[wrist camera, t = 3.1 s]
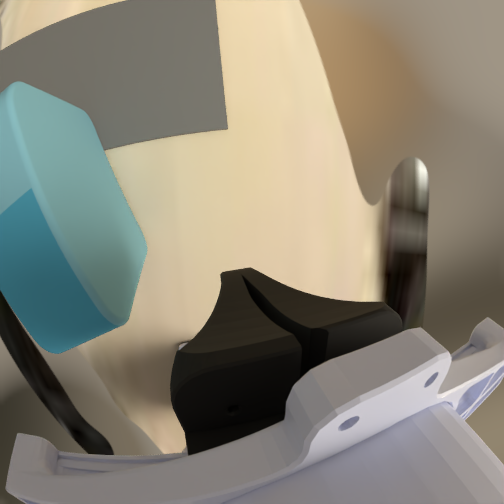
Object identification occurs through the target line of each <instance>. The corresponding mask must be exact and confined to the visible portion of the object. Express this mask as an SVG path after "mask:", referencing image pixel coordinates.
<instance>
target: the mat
mask: <svg viewBox="0 0 504 504" xmlns="http://www.w3.org/2000/svg"><path fill="white" fill-rule="evenodd" d="M17 81H20V82H24V83H26V84H28V85H31V86H33V87H35V88H37V89H40V90H42V91H44V92H46V93H48V94H51V95H53V96H55V97H57V98H59V99H61V100H63V101H66V102H68V103H70V104H72V105H74V106H76V107H78V108H80V109H82V110H84V111H85V112H86V113H87V115H88V116H89V118H90V119H91V121H92V123H93V125H94V127H95V130H96V132H97V135H98V137H99V140H100V142H101V145H102V147H103V150H108V149H112V148H116V147H120V146H125V145H129V144H134V143H138V142H143V141H149V140H154V139H159V138H165V137H171V136H177V135H184V134H191V133H198V132H206V131H215V130H225V129H228V125H227V115H226V106H225V96H224V86H223V77H222V67H221V56H220V46H219V36H218V25H217V14H216V3H215V0H126V1H122V2H118V3H114V4H110V5H106V6H103V7H99V8H96V9H92V10H89V11H86V12H83V13H80V14H77V15H75V16H72V17H69V18H67V19H64V20H61V21H59V22H57V23H54V24H52V25H49V26H47V27H45V28H43V29H41V30H38V31H36V32H34V33H32V34H30V35H28V36H26V37H24V38H22V39H21V40H19V41H17V42H15V43H13V44H11V45H10V46H8V47H6V48H5V49H3V50H1V51H0V93H1V92H2V91H3V90H5V89H6V88H7V87H8V86H9V85H10V84H12V83H14V82H17Z"/></svg>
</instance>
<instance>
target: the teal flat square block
mask: <svg viewBox="0 0 504 504" xmlns="http://www.w3.org/2000/svg"><path fill="white" fill-rule="evenodd" d="M146 254H147V245H146V241H145V238H144V236H143V233H142V231H141V229H140V227H139V225H138V223H137V221H136V219H135V217H134V215H133V213H132V211H131V209H130V207H129V205H128V203H127V201H126V199H125V197H124V195H123V192H122V190H121V188H120V186H119V184H118V182H117V179H116V177H115V175H114V173H113V171H112V168H111V166H110V164H109V161H108V159H107V157H106V154H105V152H104V150H103V147H102V145H101V142H100V140H99V137H98V135H97V132H96V130H95V127H94V125H93V123H92V121H91V119H90V118H89V116H88V115H87V113H86V112H85V111H84V110H82V109H80V108H78V107H76V106H74V105H72V104H70V103H68V102H66V101H63V100H61V99H59V98H57V97H55V96H53V95H51V94H48V93H46V92H44V91H42V90H40V89H37V88H35V87H33V86H31V85H28V84H26V83H24V82H20V81H17V82H14V83H12V84H10V85H9V86H8V87H7V88H6V89H5V90H3V91H2V92H1V93H0V290H1V292H2V293H3V295H4V297H5V298H6V300H7V301H8V303H9V304H10V306H11V308H12V309H13V311H14V312H15V314H16V315H17V317H18V318H19V319H20V321H21V322H22V324H23V325H24V326H25V328H26V329H27V331H28V332H29V333H30V335H31V336H32V337H33V339H34V340H35V341H36V342H37V343H38V344H39V345H40V346H41V347H42V348H43V349H45V350H46V351H48V352H51V353H55V354H59V353H62V352H65V351H67V350H69V349H71V348H73V347H76V346H78V345H80V344H82V343H85V342H87V341H89V340H91V339H93V338H96V337H98V336H100V335H102V334H104V333H107V332H109V331H111V330H113V329H115V328H118V327H120V326H122V325H124V324H125V323H126V322H127V321H128V319H129V316H130V312H131V308H132V304H133V300H134V296H135V293H136V289H137V285H138V282H139V278H140V274H141V271H142V267H143V264H144V261H145V257H146Z"/></svg>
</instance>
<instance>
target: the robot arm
mask: <svg viewBox="0 0 504 504" xmlns="http://www.w3.org/2000/svg"><path fill="white" fill-rule="evenodd" d="M220 276H221V289H220V294H219V297H218V300H217V303H216V305H215V308H214V310H213V312H212V314H211V316H210V317H209V319H208V321H207V322H206V324H205V325H204V327H203V328H202V329H201V330H200V332H199V333H198V334H197V335H196V336H195V337H194V338H193V339H192V340H191V341H190V342H188V343H183V344H180V345H179V350H178V351H177V353H176V356H175V360H174V364H173V368H172V374H171V383H170V391H171V402H172V406H173V409H174V412H175V414H176V416H177V418H178V420H179V422H180V424H181V426H182V428H183V430H184V432H185V438H186V447H185V448H184V450H183V451H182V453H173V454H160V455H139V456H137V455H136V456H116V455H93V454H80V453H69V452H62V451H58V450H57V449H56V448H55V446H54V445H53V444H51V443H50V442H49V441H48V440H46V439H44V438H42V437H38V436H32V435H27V434H22V433H18V434H17V437H16V441H15V445H14V449H13V453H12V457H11V462H10V467H9V472H8V477H7V483H6V490H7V492H9V493H10V494H12V495H13V496H15V497H16V498H18V499H19V500H21V501H23V502H24V503H26V504H504V465H503V464H502V462H501V461H500V460H499V459H498V458H497V457H496V456H495V454H494V453H493V452H492V451H491V450H490V449H489V447H488V446H487V445H486V444H485V443H484V442H483V441H482V440H481V438H480V437H479V436H478V435H477V434H476V433H475V432H474V431H473V430H472V428H471V427H470V426H469V425H468V424H467V423H466V422H465V419H467V417H469V416H470V414H472V413H473V411H475V410H476V409H477V407H478V406H479V405H480V404H481V403H482V402H483V401H484V400H485V399H486V398H487V397H488V396H489V395H490V394H491V392H492V391H493V390H494V389H495V388H496V387H497V386H498V385H499V383H500V382H501V380H502V379H503V377H504V329H503V328H502V327H501V326H499V325H497V324H496V323H495V322H494V321H493V320H491V319H490V318H486V319H485V320H483V321H482V322H481V323H479V324H478V325H477V326H476V327H475V328H474V330H473V332H472V334H471V337H470V339H469V342H468V343H466V344H465V345H464V346H462V347H461V348H460V349H458V350H457V351H455V352H454V353H452V354H451V355H450V353H449V352H448V351H447V350H446V349H445V348H444V347H443V346H442V345H440V344H439V343H438V342H437V341H436V340H435V339H433V338H432V337H431V336H430V335H429V334H428V333H426V332H425V331H424V330H423V329H422V328H415V329H409V330H405V331H403V332H402V320H401V318H400V316H399V315H398V314H397V313H396V312H395V311H394V310H392V309H391V308H390V307H389V306H388V305H386V304H385V303H384V302H354V301H343V300H335V299H330V298H325V297H320V296H316V295H312V294H308V293H305V292H302V291H299V290H296V289H294V288H291V287H289V286H286V285H284V284H282V283H280V282H278V281H276V280H274V279H272V278H270V277H268V276H266V275H264V274H262V273H260V272H259V271H257V270H255V269H253V268H244V269H238V270H232V271H226V272H222V273H221V275H220Z"/></svg>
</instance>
